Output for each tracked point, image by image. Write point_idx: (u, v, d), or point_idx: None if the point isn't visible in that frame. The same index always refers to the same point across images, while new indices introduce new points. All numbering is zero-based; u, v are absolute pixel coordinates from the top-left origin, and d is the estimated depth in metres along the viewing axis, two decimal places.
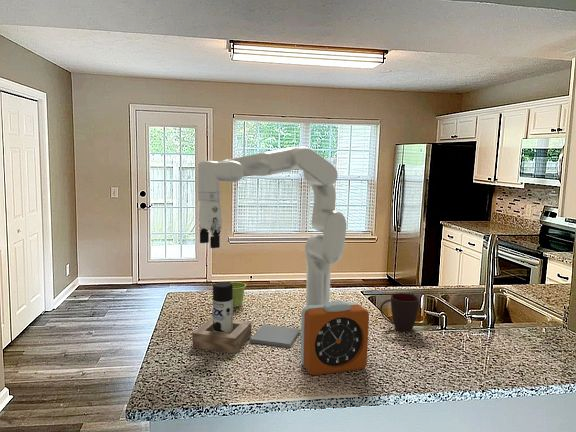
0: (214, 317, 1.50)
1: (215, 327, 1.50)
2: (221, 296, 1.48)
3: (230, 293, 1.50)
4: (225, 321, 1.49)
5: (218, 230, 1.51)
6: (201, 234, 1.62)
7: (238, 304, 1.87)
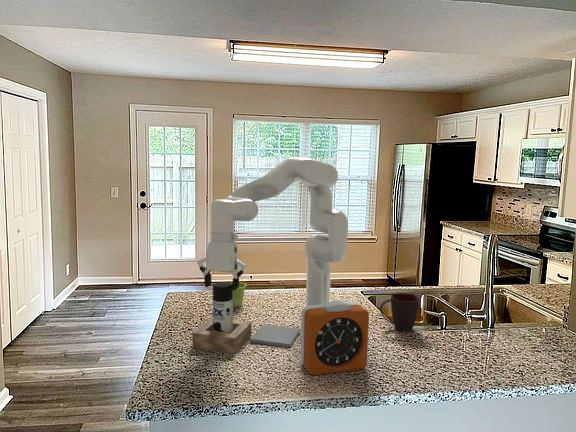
0: (214, 317, 1.50)
1: (215, 327, 1.50)
2: (221, 296, 1.48)
3: (230, 293, 1.50)
4: (225, 320, 1.49)
5: (244, 270, 1.48)
6: (207, 277, 1.50)
7: (238, 304, 1.87)
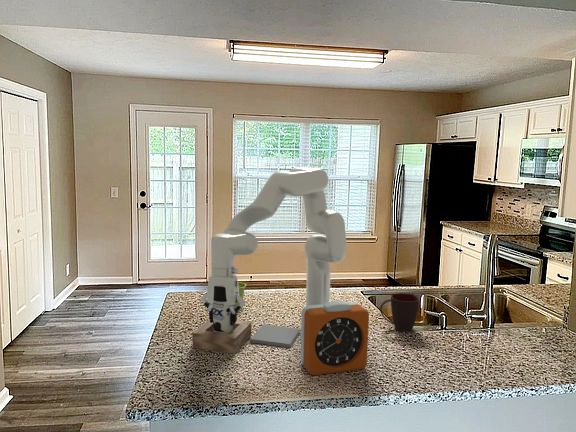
0: (214, 317, 1.50)
1: (215, 327, 1.50)
2: (221, 296, 1.48)
3: None
4: (225, 321, 1.49)
5: (241, 307, 1.50)
6: (212, 313, 1.52)
7: (238, 304, 1.87)
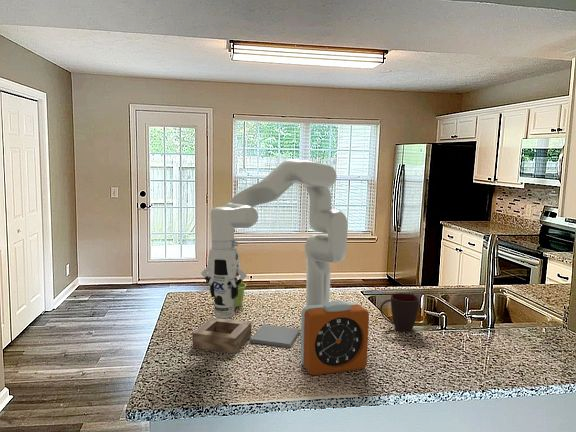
0: (215, 291, 1.49)
1: (216, 300, 1.49)
2: (222, 270, 1.47)
3: None
4: (226, 294, 1.48)
5: None
6: (213, 287, 1.51)
7: (238, 304, 1.87)
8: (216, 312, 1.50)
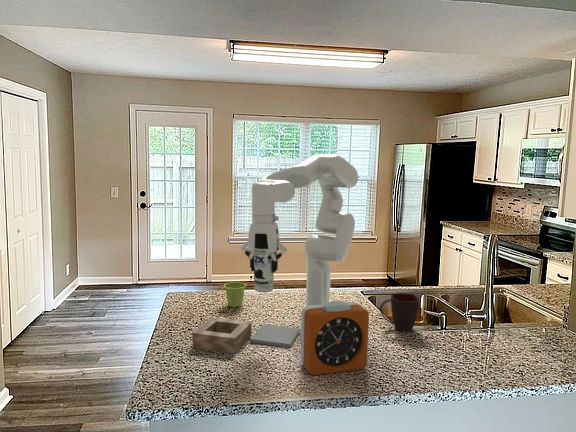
0: (255, 265, 1.51)
1: (256, 274, 1.51)
2: (262, 243, 1.49)
3: None
4: (266, 268, 1.50)
5: None
6: (253, 261, 1.53)
7: (238, 304, 1.87)
8: (256, 286, 1.52)
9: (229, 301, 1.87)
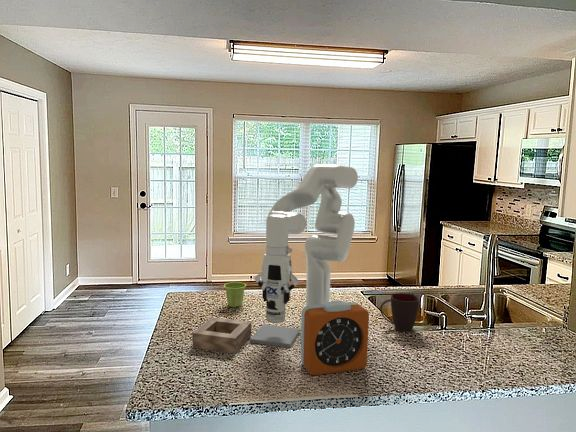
0: (268, 295, 1.53)
1: (269, 305, 1.53)
2: (276, 275, 1.51)
3: None
4: (279, 299, 1.53)
5: (295, 285, 1.53)
6: (265, 292, 1.55)
7: (238, 304, 1.87)
8: (268, 316, 1.54)
9: (229, 301, 1.87)
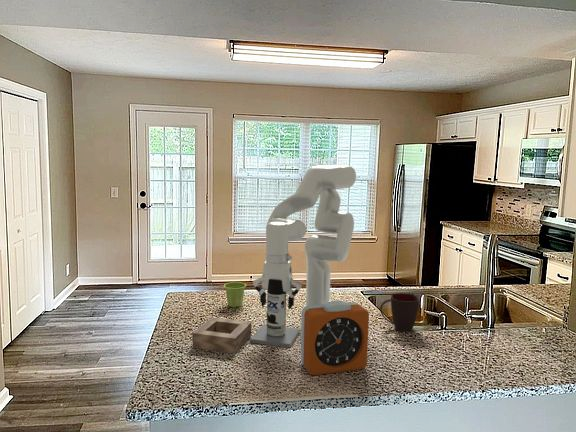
0: (269, 309, 1.54)
1: (269, 319, 1.54)
2: (276, 289, 1.52)
3: None
4: (279, 313, 1.53)
5: None
6: (263, 297, 1.56)
7: (238, 304, 1.87)
8: (269, 330, 1.55)
9: (229, 301, 1.87)
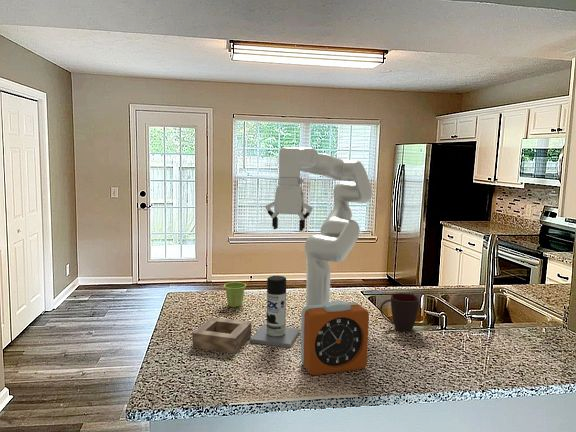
0: (268, 310, 1.54)
1: (269, 319, 1.54)
2: (276, 289, 1.52)
3: (284, 286, 1.54)
4: (279, 313, 1.53)
5: (310, 212, 1.60)
6: (275, 220, 1.63)
7: (238, 304, 1.87)
8: (269, 330, 1.55)
9: (229, 301, 1.87)
